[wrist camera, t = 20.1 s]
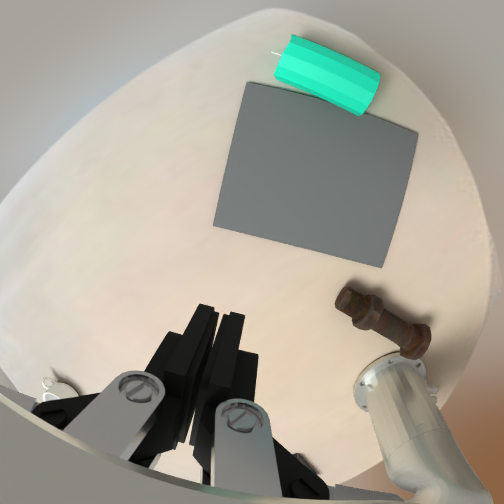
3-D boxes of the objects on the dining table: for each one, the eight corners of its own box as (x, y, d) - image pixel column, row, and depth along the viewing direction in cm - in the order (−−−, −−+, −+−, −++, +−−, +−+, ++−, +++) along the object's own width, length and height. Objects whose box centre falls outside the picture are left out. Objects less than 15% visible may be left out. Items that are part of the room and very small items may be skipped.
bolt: (339, 281, 40) (413, 327, 41) (323, 314, 39) (400, 357, 39) (359, 276, 34) (437, 328, 35) (342, 314, 33) (424, 361, 34)
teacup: (91, 403, 49) (80, 419, 44) (73, 408, 50) (62, 423, 45) (60, 365, 47) (46, 380, 42) (43, 373, 48) (30, 387, 43)
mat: (416, 134, 32) (418, 134, 31) (380, 266, 37) (381, 268, 36) (247, 83, 32) (246, 82, 32) (213, 225, 37) (213, 225, 37)
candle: (373, 74, 30) (282, 35, 29) (385, 71, 25) (278, 24, 24) (354, 114, 33) (264, 75, 32) (363, 118, 28) (257, 72, 27)
